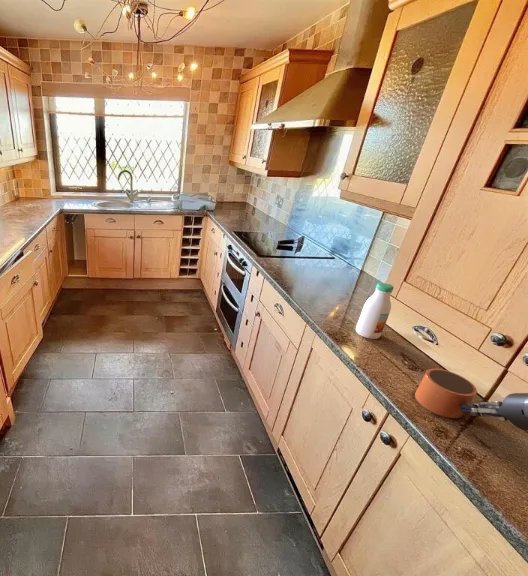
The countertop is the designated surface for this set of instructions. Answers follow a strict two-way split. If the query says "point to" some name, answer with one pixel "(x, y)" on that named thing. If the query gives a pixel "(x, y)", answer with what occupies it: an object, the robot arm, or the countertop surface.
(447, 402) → the terracotta pot
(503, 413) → the robot arm
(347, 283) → the countertop surface
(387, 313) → the milk bottle
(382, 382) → the countertop surface
